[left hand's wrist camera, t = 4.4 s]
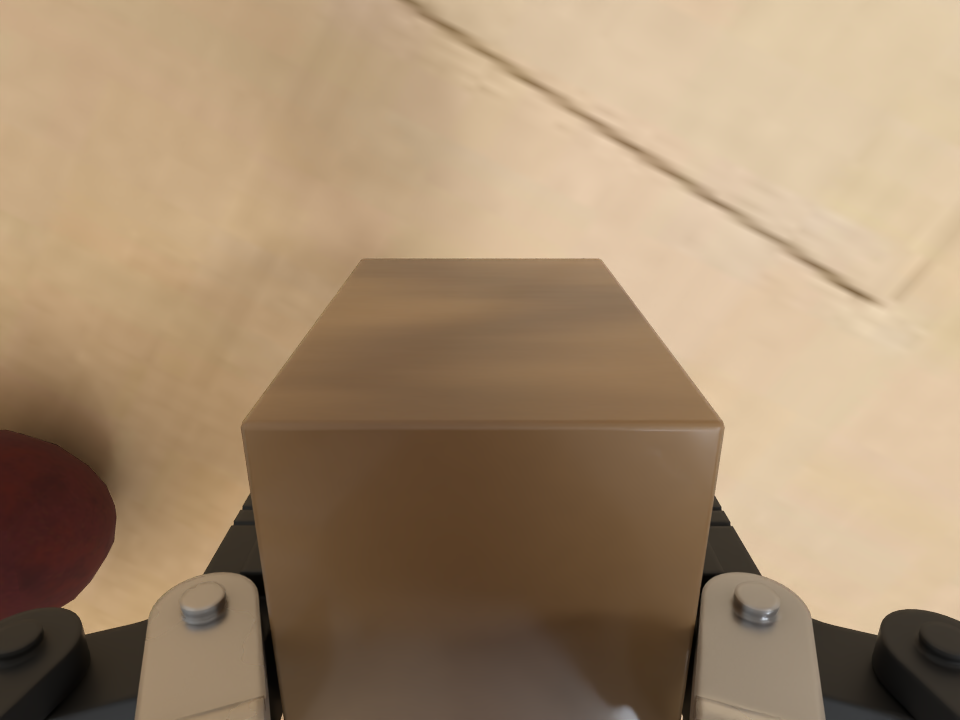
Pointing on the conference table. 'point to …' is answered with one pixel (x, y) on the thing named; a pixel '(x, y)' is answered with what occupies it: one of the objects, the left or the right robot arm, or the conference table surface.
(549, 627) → the block
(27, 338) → the conference table surface
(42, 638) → the left robot arm
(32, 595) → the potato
